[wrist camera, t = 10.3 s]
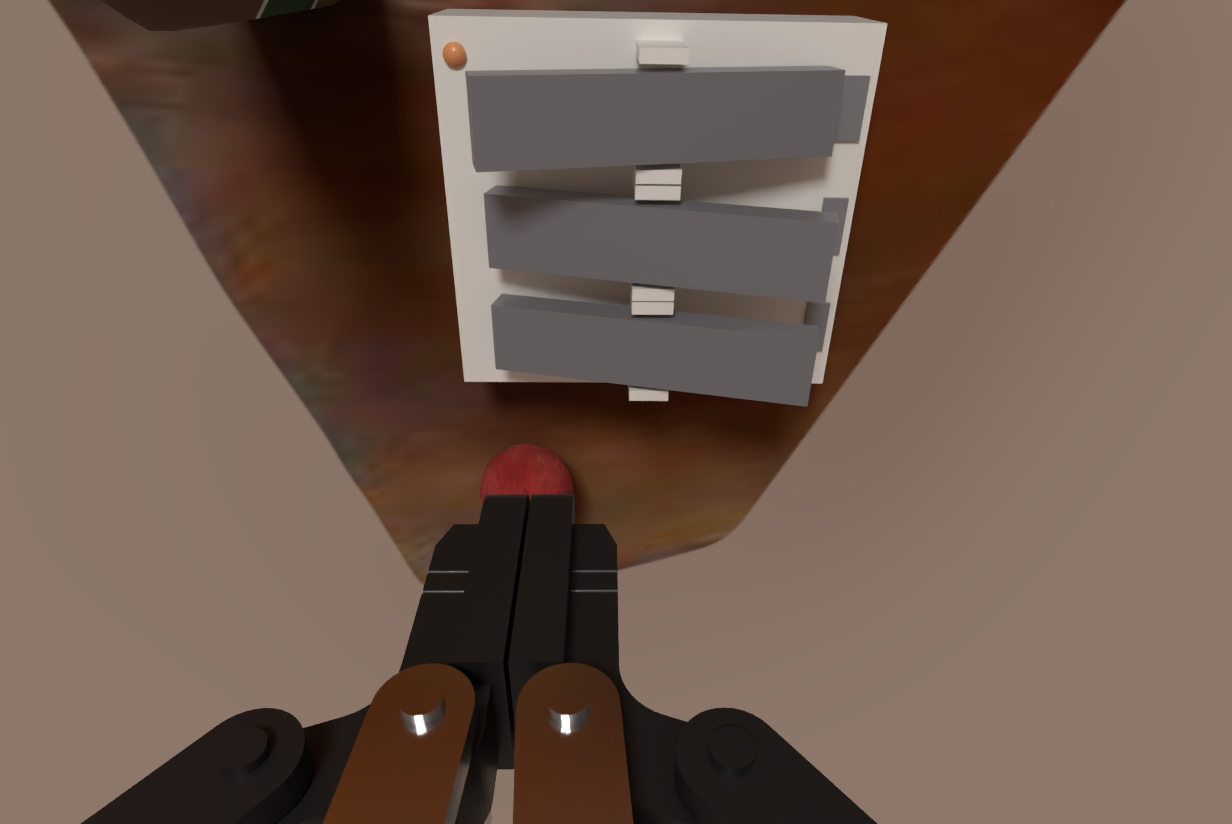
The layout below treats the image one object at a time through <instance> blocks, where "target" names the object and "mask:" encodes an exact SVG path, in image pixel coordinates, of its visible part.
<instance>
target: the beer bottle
mask: <svg viewBox="0 0 1232 824" xmlns="http://www.w3.org/2000/svg"><path fill="white" fill-rule="evenodd" d="M102 1H103V2H105V3H106V4H108V5H109V6H111V7H112V8H113V9H115V10H116V11H118V12H119V13H121V14H122V15H124V16H125V17H127V18H129V19H130V20H132V21H134V22H136V23H137V24H139V25H141V26H143V27H144V28H146V29H148V30H150V31H176V30H183V29H190V28H197V27H204V26H211V25H218V24H225V23H232V22H239V21H246V20H253V19H259V18H265V17H271V16H276V15H282V14H287V13H293V12H299V11H304V10H310V9H316V8H321V7H327V6H331V5H333V4H336V3H338V2H340V0H102Z"/></svg>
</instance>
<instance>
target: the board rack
mask: <svg viewBox="0 0 1232 824" xmlns="http://www.w3.org/2000/svg"><path fill="white" fill-rule="evenodd" d="M428 20H429V30H430V40H431V50H432V60H433V70H434V80H435V90H436V101H437V111H438V121H439V131H440V141H441V151H442V161H443V171H444V181H445V191H446V201H447V211H448V221H449V231H450V241H451V251H452V261H453V272H454V282H455V292H456V302H457V312H458V322H459V332H460V342H461V352H462V362H463V372H464V382H598V381H590V380H581V379H573V378H565V377H557V376H548V375H540V374H532V373H523V372H515V371H507V370H499V369H496V367H495V354H494V340H493V327H492V313H491V305H492V304H493V302H494V301H495V300H496V299H497V298H498V297H499V296H500V295H501V294H512V295H522V296H531V297H541V298H551V299H561V300H571V301H580V302H590V303H600V304H610V305H620V306H629V307H631V313H632V315H673V311H678V312H688V313H698V314H708V315H718V316H727V317H737V318H747V319H757V320H767V321H776V322H786V323H796V324H806V325H816V326H818V327H819V342H818V348H817V354H816V359H815V365H814V371H813V377H812V383H821V384H822V383H823V378H824V372H825V367H826V361H827V355H828V350H829V344H830V339H831V333H832V328H833V322H834V317H835V311H836V306H837V300H838V295H839V289H840V283H841V278H842V272H843V267H844V261H845V256H846V250H847V245H848V239H849V234H850V228H851V223H852V217H853V211H854V206H855V200H856V195H857V189H858V184H859V178H860V173H861V167H862V162H863V156H864V151H865V145H866V140H867V134H868V128H869V123H870V117H871V112H872V106H873V101H874V95H875V90H876V84H877V79H878V73H879V68H880V62H881V56H882V51H883V45H884V40H885V34H886V29H887V23H883V22H879V21H874V20H870V19H865V18H861V17H856V16H826V15H770V14H713V13H657V12H600V11H544V10H487V9H446V10H443V11H440V12H437V13H434V14H431V15H428ZM760 66H831V67H835V68H839V69H843V70H846V71H845V77H844V83H843V89H842V96H841V102H840V108H839V115H838V121H837V127H836V133H835V140H834V146H833V152H832V157H811V158H788V159H766V160H743V161H721V162H699V163H676V164H654V165H631V166H609V167H586V168H564V169H542V170H519V171H497V172H476V171H475V168H474V166H473V163H472V150H471V138H470V125H469V113H468V100H467V87H466V75H465V71H484V70H553V69H622V68H691V67H760ZM496 185H500V186H512V187H525V188H537V189H549V190H562V191H574V192H586V193H599V194H611V195H623V196H635V200H685V201H697V202H709V203H722V204H734V205H746V206H759V207H771V208H783V209H795V210H808V211H820V212H832V213H838V218H839V225H838V231H837V237H836V242H835V248H834V254H833V260H832V266H831V271H830V277H829V283H828V289H827V295H826V301H825V303H823V302H813V301H803V300H794V299H784V298H774V297H765V296H755V295H746V294H736V293H726V292H717V291H707V290H697V289H688V288H678V287H668V286H659V285H649V284H639V283H630V282H620V281H611V280H601V279H591V278H582V277H572V276H562V275H553V274H543V273H533V272H524V271H514V270H505V269H495V268H489V260H488V247H487V233H486V220H485V206H484V193H485V192H487V191H488V190H490V189H491V188H493V187H494V186H496ZM628 392H629V401H668V392H669V390H664V389H656V388H648V387H639V386H631V385H628Z"/></svg>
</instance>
